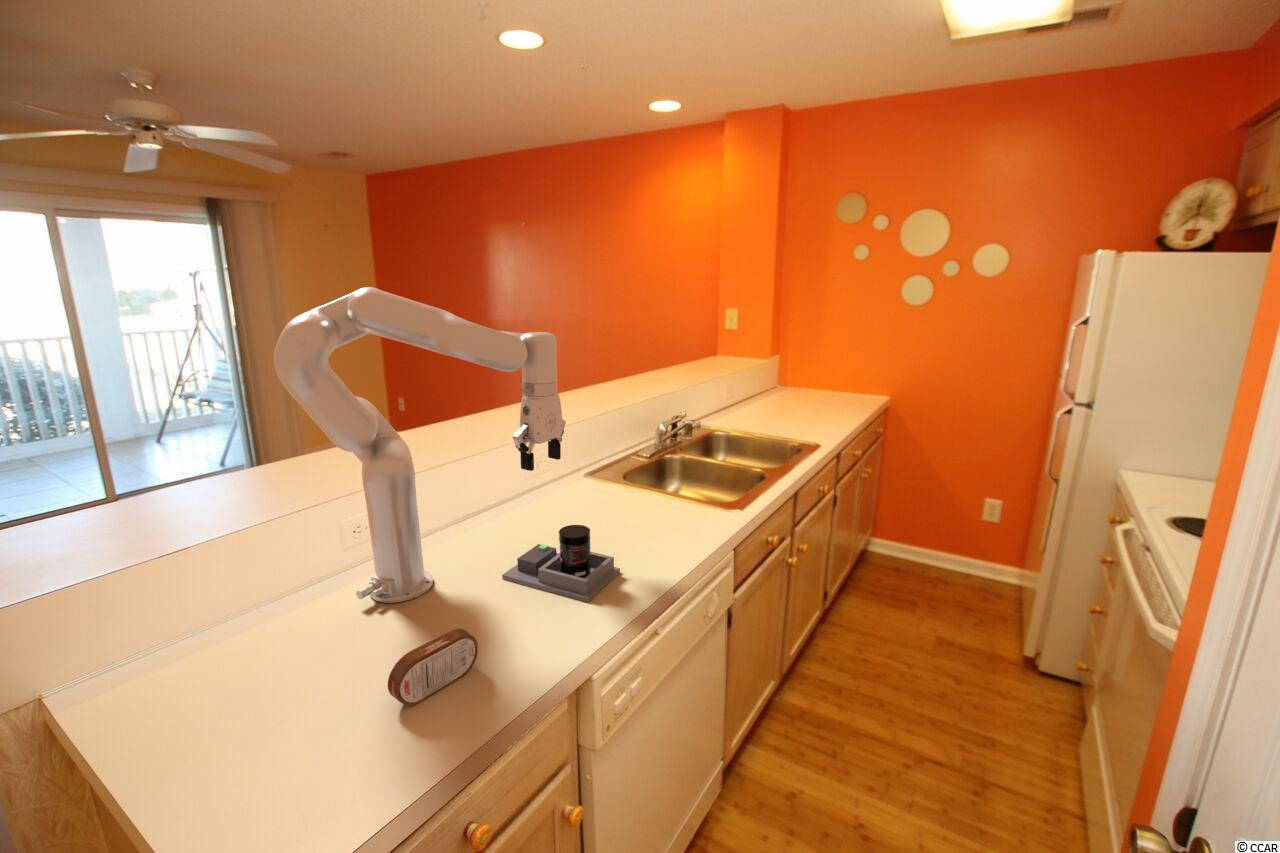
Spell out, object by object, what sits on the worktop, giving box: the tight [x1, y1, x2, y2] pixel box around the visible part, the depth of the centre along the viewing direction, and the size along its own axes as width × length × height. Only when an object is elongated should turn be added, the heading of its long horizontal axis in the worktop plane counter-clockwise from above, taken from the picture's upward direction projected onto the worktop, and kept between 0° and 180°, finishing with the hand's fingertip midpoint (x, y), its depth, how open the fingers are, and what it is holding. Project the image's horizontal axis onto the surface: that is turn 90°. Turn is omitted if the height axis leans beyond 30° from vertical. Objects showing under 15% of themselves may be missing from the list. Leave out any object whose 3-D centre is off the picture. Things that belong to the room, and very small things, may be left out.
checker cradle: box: [501, 543, 621, 603], centre depth 129 cm, size 14×22×5 cm, turn 64°
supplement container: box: [558, 524, 591, 578], centre depth 127 cm, size 7×7×10 cm
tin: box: [387, 628, 479, 706], centre depth 94 cm, size 15×3×8 cm, turn 141°
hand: (541, 463), depth 131 cm, fingers open, 9 cm apart
